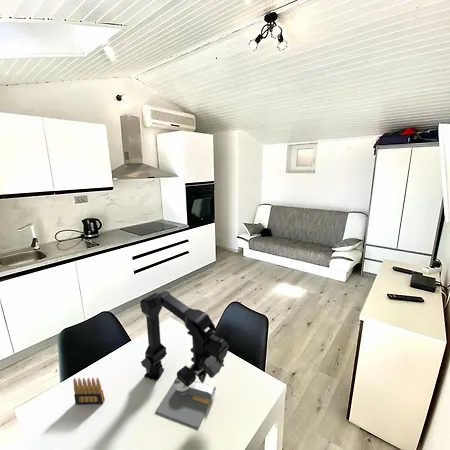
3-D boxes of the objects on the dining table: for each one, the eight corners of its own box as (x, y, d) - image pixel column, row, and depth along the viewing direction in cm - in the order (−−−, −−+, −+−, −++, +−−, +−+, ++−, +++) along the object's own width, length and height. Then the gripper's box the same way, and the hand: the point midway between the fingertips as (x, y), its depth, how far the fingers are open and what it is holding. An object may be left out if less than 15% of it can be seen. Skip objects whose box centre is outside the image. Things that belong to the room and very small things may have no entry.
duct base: (155, 412, 93) (154, 406, 92) (178, 376, 108) (177, 371, 108) (198, 428, 87) (197, 422, 86) (215, 388, 103) (215, 382, 102)
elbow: (171, 395, 98) (170, 386, 97) (179, 380, 105) (179, 372, 104) (210, 406, 94) (209, 397, 93) (216, 390, 100) (215, 381, 99)
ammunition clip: (104, 400, 98) (100, 375, 95) (102, 404, 96) (98, 379, 93) (78, 400, 98) (73, 376, 95) (75, 404, 96) (70, 380, 93)
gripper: (196, 375, 77) (198, 414, 80) (234, 343, 90) (234, 377, 94) (174, 357, 84) (177, 394, 88) (212, 330, 97) (213, 362, 101)
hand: (202, 381), depth 92 cm, fingers closed
